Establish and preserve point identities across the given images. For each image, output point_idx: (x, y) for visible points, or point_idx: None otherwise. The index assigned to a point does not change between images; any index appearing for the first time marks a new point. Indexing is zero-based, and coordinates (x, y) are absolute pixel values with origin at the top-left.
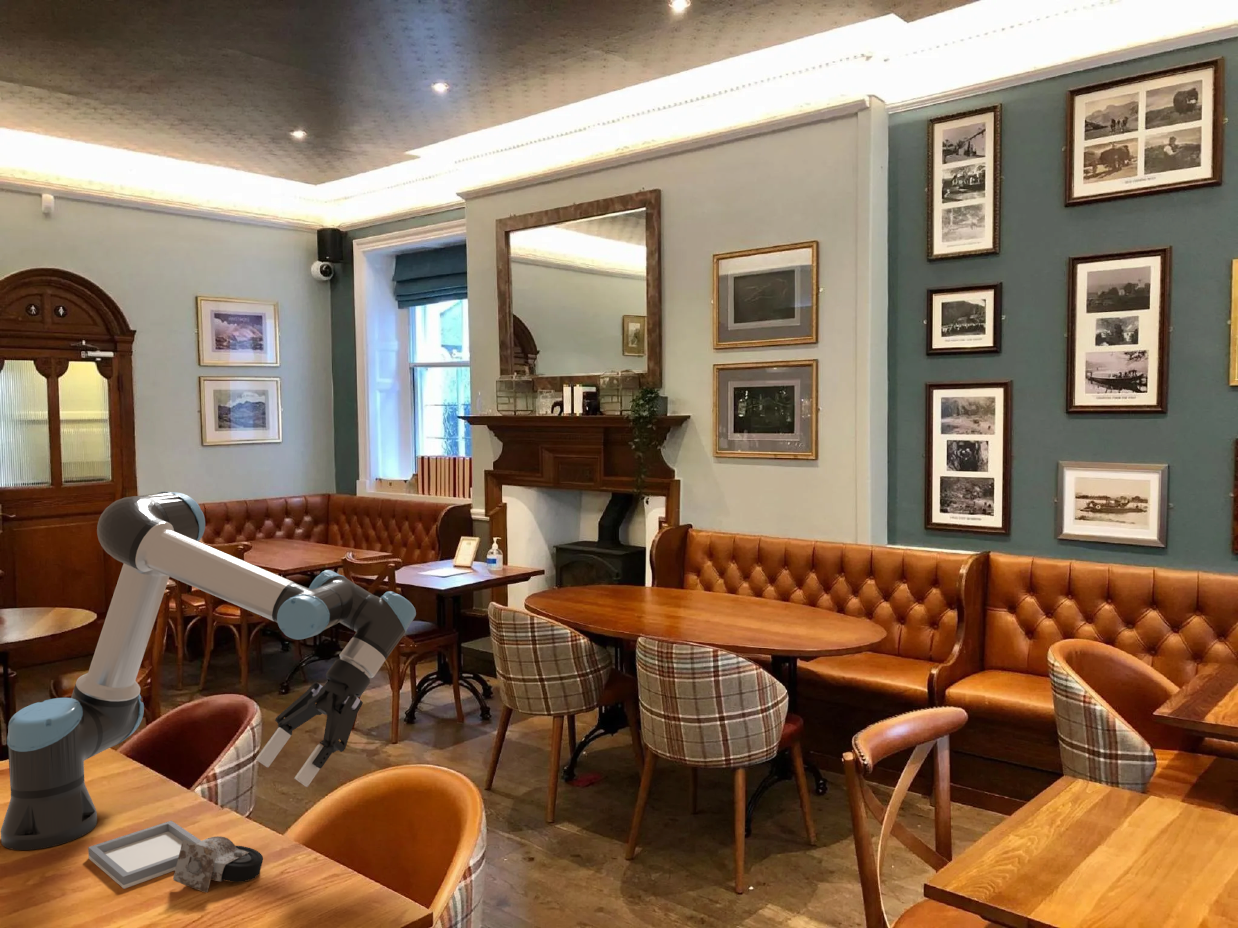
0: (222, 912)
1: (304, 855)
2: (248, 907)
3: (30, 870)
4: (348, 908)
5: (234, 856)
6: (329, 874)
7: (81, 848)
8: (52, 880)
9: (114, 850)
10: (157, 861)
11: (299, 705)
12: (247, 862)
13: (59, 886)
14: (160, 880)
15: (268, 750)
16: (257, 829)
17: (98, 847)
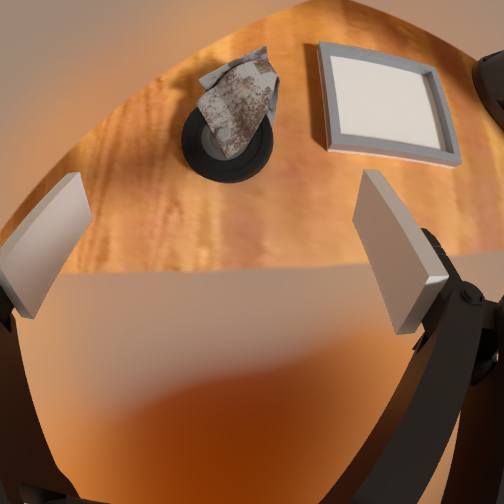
0: (145, 99)
1: (202, 262)
2: (127, 125)
3: (429, 41)
4: None
5: (219, 127)
6: (110, 252)
7: (457, 87)
8: (393, 35)
9: (428, 91)
10: (359, 96)
11: (489, 451)
12: (196, 143)
13: (373, 30)
14: (305, 80)
15: (377, 211)
16: None
17: (431, 73)
